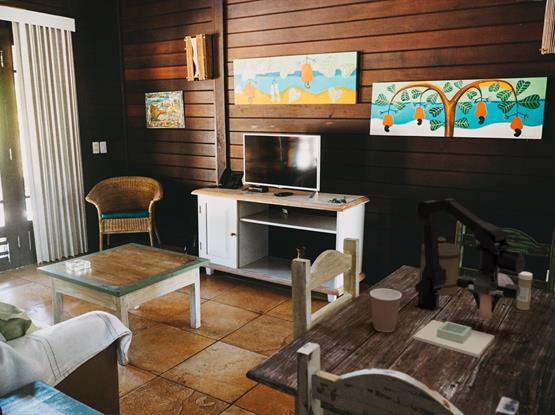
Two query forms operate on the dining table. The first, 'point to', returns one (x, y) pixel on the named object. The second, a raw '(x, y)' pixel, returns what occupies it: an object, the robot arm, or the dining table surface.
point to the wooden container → (445, 265)
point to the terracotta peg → (486, 306)
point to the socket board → (454, 337)
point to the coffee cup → (385, 308)
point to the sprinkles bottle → (524, 290)
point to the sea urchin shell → (503, 281)
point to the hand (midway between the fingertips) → (485, 311)
